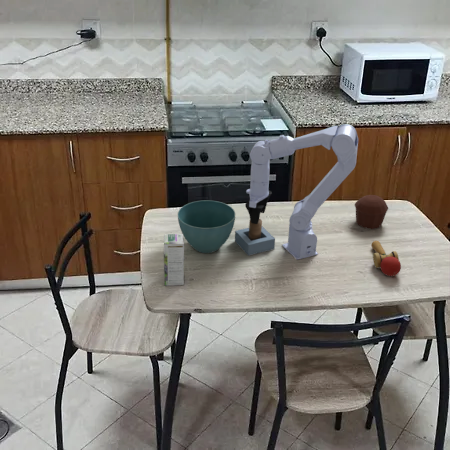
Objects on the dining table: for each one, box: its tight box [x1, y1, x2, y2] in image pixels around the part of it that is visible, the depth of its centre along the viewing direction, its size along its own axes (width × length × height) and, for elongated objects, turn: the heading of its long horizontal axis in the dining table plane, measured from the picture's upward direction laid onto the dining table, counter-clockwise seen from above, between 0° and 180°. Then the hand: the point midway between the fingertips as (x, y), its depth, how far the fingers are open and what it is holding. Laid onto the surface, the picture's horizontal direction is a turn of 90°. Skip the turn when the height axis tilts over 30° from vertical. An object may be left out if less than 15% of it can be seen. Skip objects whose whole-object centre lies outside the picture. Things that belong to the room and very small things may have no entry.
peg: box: [248, 218, 263, 241], centre depth 187 cm, size 4×4×8 cm
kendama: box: [370, 240, 402, 277], centre depth 180 cm, size 8×6×18 cm
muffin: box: [354, 194, 389, 230], centre depth 201 cm, size 12×11×10 cm
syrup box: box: [163, 233, 185, 287], centre depth 168 cm, size 6×6×14 cm
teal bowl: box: [177, 199, 236, 254], centre depth 185 cm, size 18×18×12 cm
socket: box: [234, 225, 276, 256], centre depth 188 cm, size 10×10×4 cm
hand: (257, 217), depth 186 cm, fingers open, 7 cm apart
